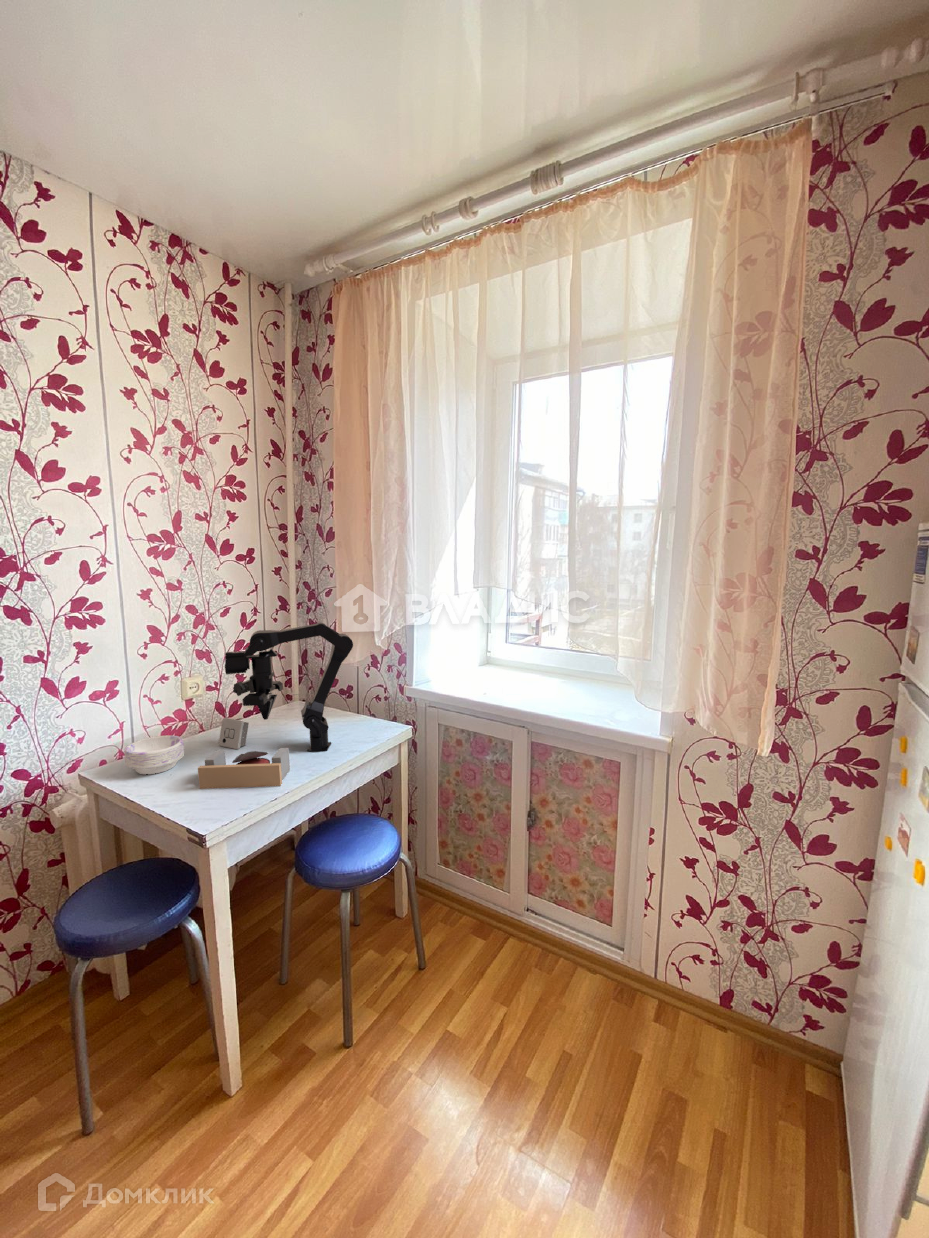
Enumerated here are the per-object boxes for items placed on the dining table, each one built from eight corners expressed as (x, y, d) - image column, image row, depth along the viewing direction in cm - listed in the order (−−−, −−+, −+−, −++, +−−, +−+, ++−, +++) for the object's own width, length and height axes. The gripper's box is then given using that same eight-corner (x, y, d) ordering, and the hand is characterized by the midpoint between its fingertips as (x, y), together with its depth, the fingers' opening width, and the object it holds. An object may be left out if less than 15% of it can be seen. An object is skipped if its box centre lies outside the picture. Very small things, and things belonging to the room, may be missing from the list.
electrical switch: (218, 746, 167) (218, 718, 166) (231, 742, 171) (231, 715, 171) (237, 750, 163) (237, 722, 162) (250, 746, 167) (250, 719, 167)
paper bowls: (197, 761, 154) (194, 737, 153) (151, 782, 140) (149, 755, 139) (161, 755, 160) (159, 731, 158) (114, 775, 145) (111, 749, 144)
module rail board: (216, 772, 146) (214, 750, 145) (291, 770, 146) (290, 747, 145) (199, 788, 136) (197, 764, 135) (280, 785, 136) (278, 761, 136)
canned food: (236, 795, 141) (216, 767, 140) (255, 776, 151) (237, 749, 150) (266, 780, 139) (247, 751, 137) (284, 762, 148) (266, 735, 147)
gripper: (248, 665, 163) (251, 710, 165) (222, 679, 145) (227, 730, 147) (282, 664, 164) (285, 709, 166) (261, 678, 145) (264, 729, 147)
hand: (265, 719), depth 156 cm, fingers closed
